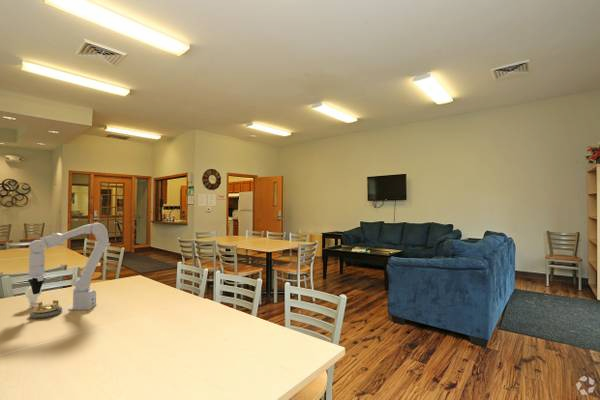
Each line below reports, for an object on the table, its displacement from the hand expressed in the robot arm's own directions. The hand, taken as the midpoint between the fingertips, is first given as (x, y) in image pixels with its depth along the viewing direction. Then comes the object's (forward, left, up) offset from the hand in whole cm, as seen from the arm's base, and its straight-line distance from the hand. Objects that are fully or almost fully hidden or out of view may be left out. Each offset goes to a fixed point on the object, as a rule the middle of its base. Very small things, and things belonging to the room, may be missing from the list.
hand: (36, 293), depth 146 cm
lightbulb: (+10, -11, -10) cm, 18 cm away
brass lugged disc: (-4, -1, -8) cm, 9 cm away
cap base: (-4, -1, -10) cm, 11 cm away
